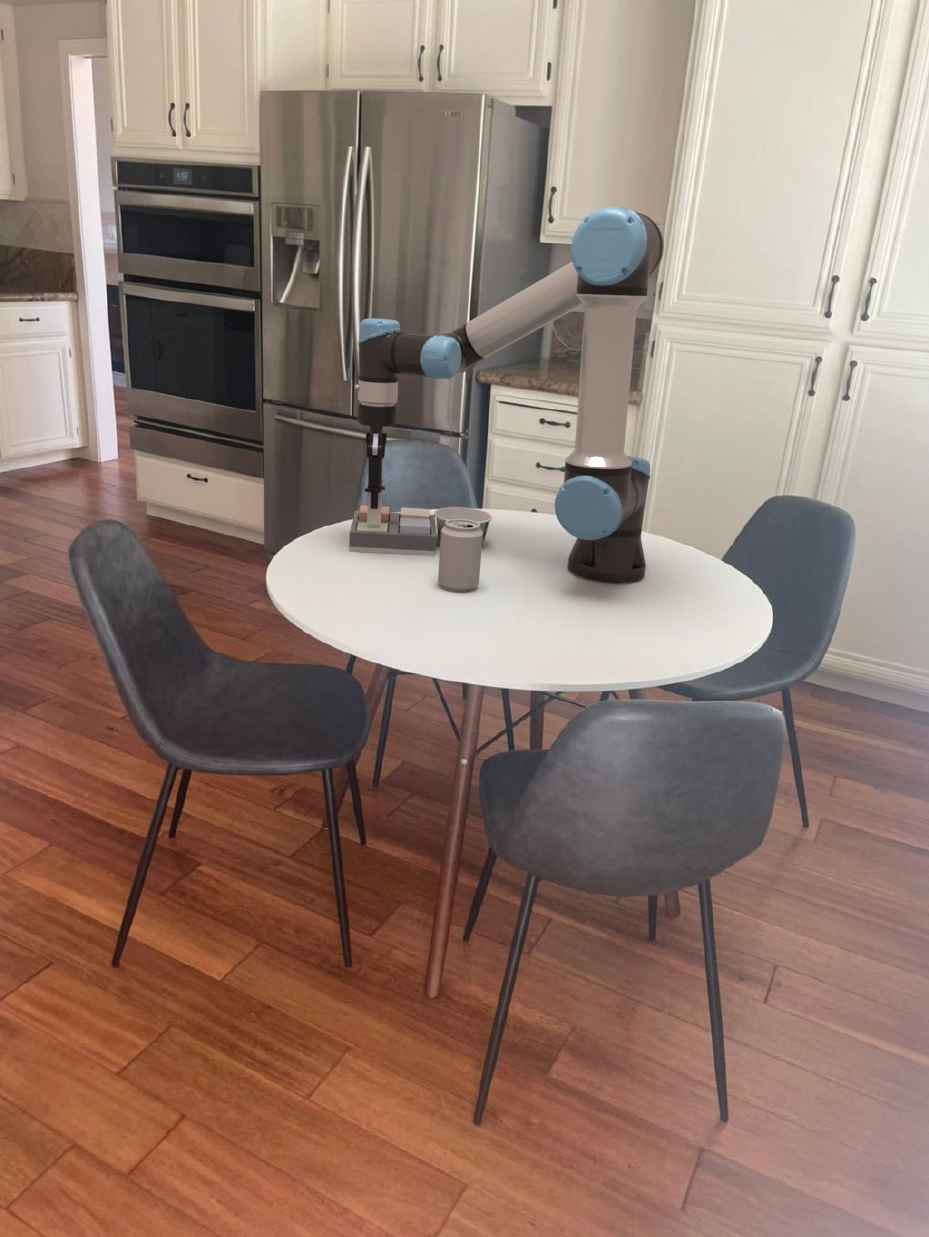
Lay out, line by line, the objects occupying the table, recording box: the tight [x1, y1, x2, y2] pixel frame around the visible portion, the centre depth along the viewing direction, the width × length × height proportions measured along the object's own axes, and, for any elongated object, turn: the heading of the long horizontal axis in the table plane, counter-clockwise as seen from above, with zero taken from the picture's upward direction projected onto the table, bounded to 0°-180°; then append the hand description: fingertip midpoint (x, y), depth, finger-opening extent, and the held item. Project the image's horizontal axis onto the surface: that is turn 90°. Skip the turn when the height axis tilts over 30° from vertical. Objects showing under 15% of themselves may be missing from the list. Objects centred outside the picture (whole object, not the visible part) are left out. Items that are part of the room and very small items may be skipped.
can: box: [437, 519, 483, 593], centre depth 168 cm, size 8×8×12 cm
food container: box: [433, 506, 493, 548], centre depth 195 cm, size 12×12×6 cm
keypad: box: [348, 510, 437, 557], centre depth 194 cm, size 17×17×4 cm
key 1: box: [357, 522, 388, 533], centre depth 189 cm, size 6×6×2 cm
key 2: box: [358, 504, 390, 521], centre depth 196 cm, size 6×6×2 cm
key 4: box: [400, 507, 431, 519], centre depth 197 cm, size 6×6×2 cm
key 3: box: [400, 518, 430, 535], centre depth 189 cm, size 6×6×2 cm
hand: (373, 523), depth 188 cm, fingers closed
